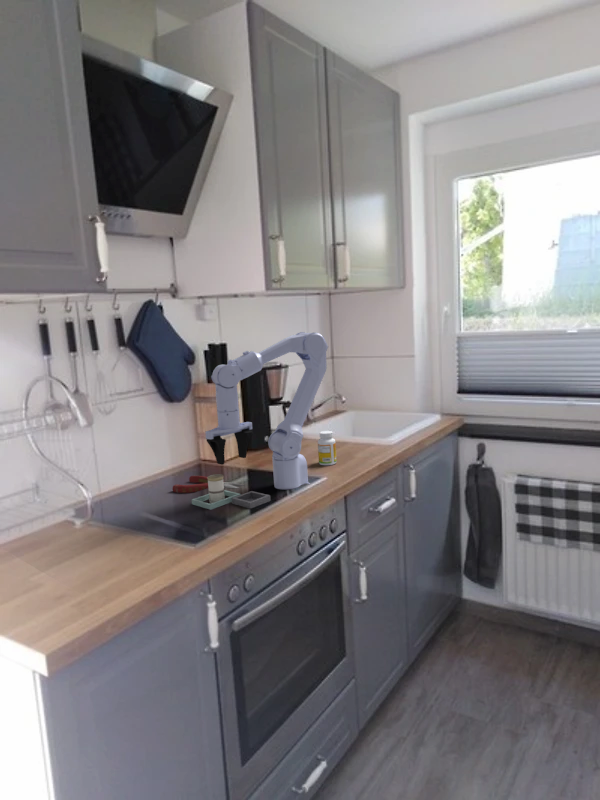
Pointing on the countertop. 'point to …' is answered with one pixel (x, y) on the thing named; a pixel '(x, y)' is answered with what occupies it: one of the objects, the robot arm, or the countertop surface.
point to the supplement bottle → (327, 448)
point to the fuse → (215, 488)
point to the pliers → (200, 485)
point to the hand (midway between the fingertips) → (231, 460)
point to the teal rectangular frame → (200, 502)
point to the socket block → (251, 499)
